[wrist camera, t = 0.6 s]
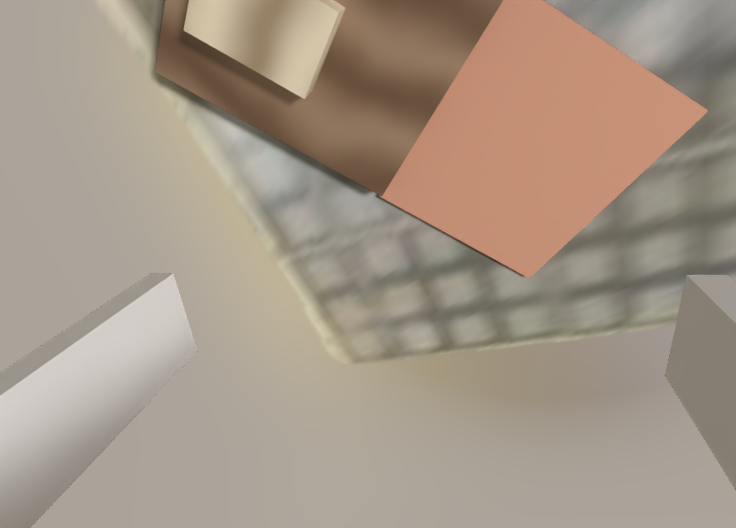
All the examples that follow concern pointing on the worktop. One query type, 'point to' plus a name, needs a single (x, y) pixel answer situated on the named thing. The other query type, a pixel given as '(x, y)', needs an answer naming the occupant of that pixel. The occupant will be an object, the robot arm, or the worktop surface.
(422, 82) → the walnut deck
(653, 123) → the terracotta mat
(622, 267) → the worktop surface
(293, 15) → the birch tile
